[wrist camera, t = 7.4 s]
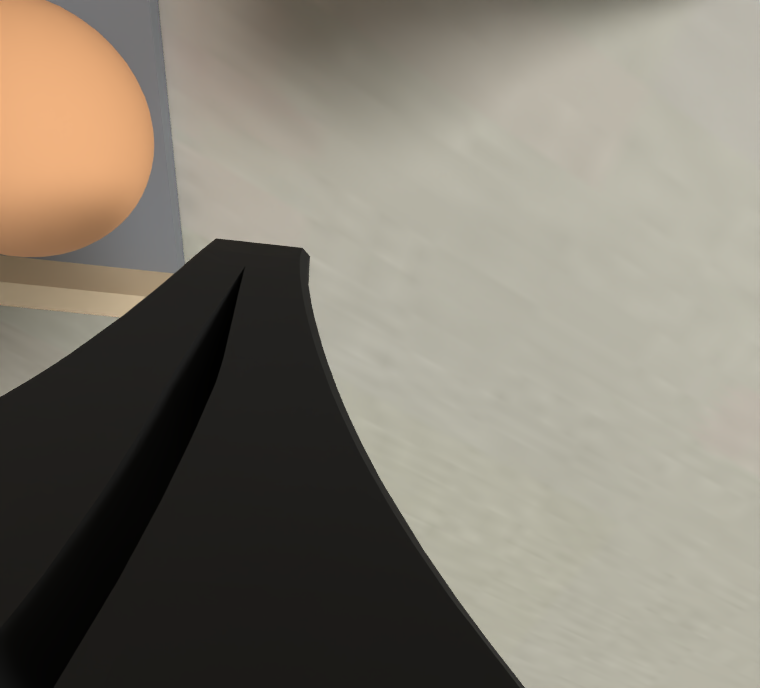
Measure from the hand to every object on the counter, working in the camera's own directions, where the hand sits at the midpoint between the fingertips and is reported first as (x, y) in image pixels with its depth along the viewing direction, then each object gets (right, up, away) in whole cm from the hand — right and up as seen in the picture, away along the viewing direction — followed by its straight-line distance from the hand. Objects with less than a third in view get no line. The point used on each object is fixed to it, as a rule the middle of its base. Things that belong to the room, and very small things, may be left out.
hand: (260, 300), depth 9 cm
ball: (-5, +4, +3) cm, 7 cm away
